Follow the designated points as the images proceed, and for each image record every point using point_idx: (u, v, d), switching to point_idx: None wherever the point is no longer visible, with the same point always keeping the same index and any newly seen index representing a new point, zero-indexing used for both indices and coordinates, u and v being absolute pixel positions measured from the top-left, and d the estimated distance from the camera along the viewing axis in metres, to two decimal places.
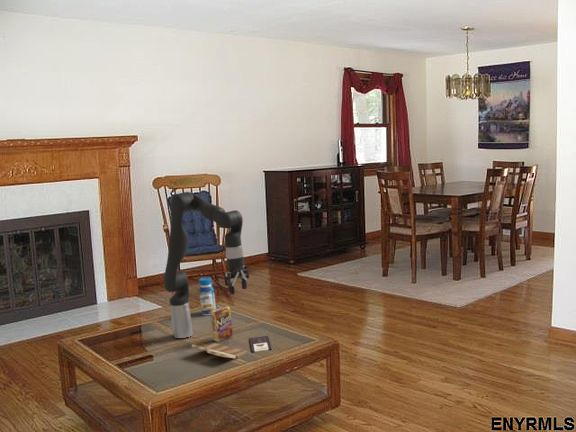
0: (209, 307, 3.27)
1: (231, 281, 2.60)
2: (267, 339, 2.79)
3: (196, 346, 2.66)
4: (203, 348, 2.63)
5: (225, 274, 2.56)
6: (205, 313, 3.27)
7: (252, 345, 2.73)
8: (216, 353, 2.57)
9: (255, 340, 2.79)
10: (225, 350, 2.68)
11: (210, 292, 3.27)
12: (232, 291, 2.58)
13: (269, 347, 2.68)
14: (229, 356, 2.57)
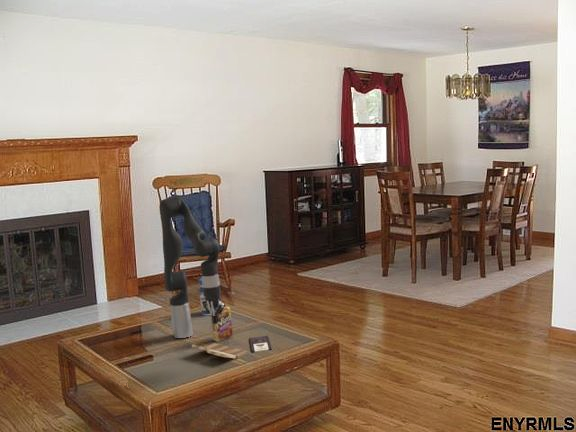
0: None
1: None
2: (267, 339, 2.79)
3: (196, 346, 2.66)
4: (203, 348, 2.63)
5: (221, 307, 2.52)
6: (205, 313, 3.27)
7: (252, 345, 2.73)
8: (216, 353, 2.57)
9: (255, 340, 2.79)
10: (225, 350, 2.68)
11: None
12: None
13: (269, 347, 2.68)
14: (229, 356, 2.57)
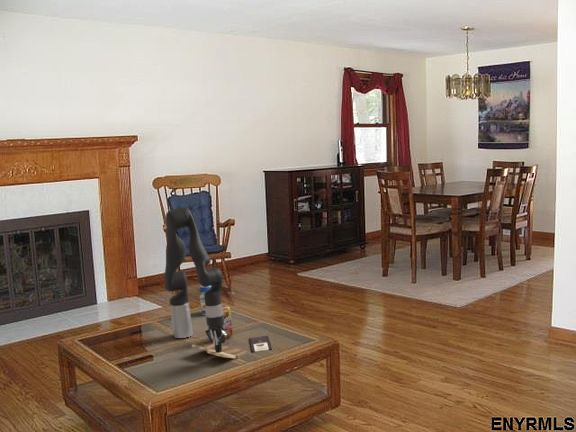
0: None
1: None
2: (267, 339, 2.79)
3: (196, 346, 2.66)
4: (203, 348, 2.63)
5: (225, 336, 2.53)
6: (205, 313, 3.27)
7: (252, 345, 2.73)
8: (216, 353, 2.57)
9: (255, 340, 2.79)
10: (225, 350, 2.68)
11: None
12: None
13: (269, 347, 2.68)
14: (229, 356, 2.57)
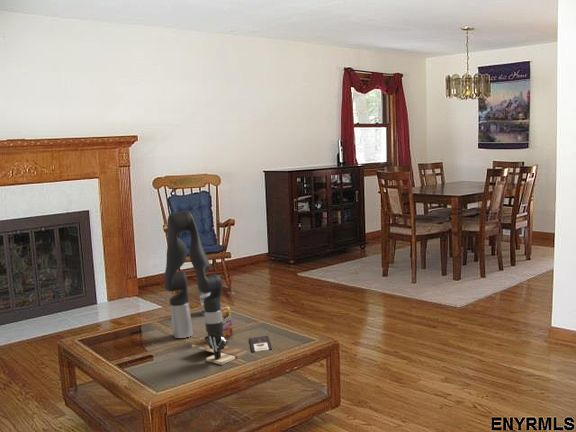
0: None
1: None
2: (267, 339, 2.79)
3: (196, 346, 2.66)
4: (203, 348, 2.63)
5: (224, 343, 2.53)
6: None
7: (252, 345, 2.73)
8: (215, 361, 2.56)
9: (255, 340, 2.79)
10: (225, 350, 2.68)
11: (210, 292, 3.27)
12: None
13: (269, 347, 2.68)
14: (228, 360, 2.57)
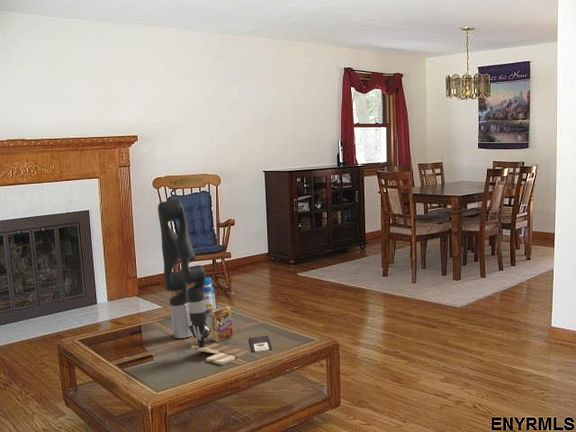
0: (209, 307, 3.27)
1: None
2: (267, 339, 2.79)
3: (196, 347, 2.66)
4: (203, 349, 2.62)
5: (207, 332, 2.60)
6: None
7: (252, 345, 2.73)
8: (215, 361, 2.56)
9: (255, 340, 2.79)
10: (225, 350, 2.68)
11: (210, 292, 3.27)
12: None
13: (269, 347, 2.69)
14: (228, 360, 2.57)
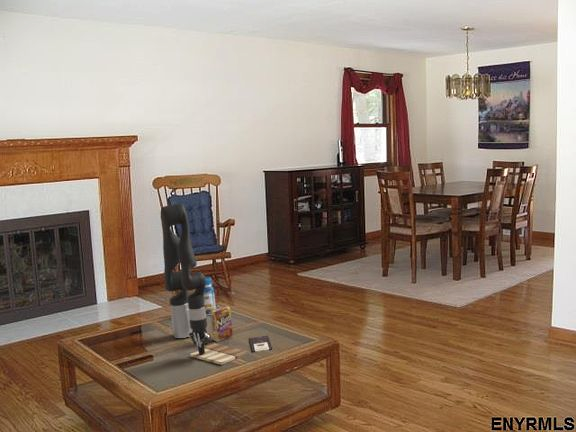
0: (209, 307, 3.27)
1: None
2: (267, 339, 2.79)
3: (194, 356, 2.65)
4: (202, 358, 2.62)
5: (207, 339, 2.60)
6: None
7: (252, 345, 2.73)
8: (215, 361, 2.56)
9: (255, 340, 2.79)
10: (225, 350, 2.68)
11: (210, 292, 3.27)
12: None
13: (269, 347, 2.69)
14: (228, 360, 2.57)
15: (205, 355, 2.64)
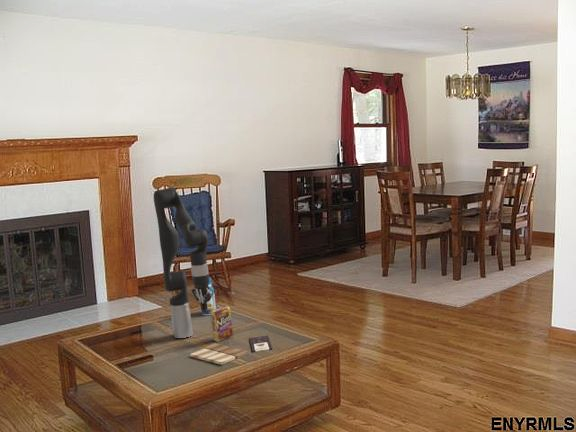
0: (209, 307, 3.27)
1: None
2: (267, 339, 2.79)
3: (194, 356, 2.65)
4: (202, 358, 2.62)
5: (210, 295, 2.63)
6: (205, 313, 3.27)
7: (252, 345, 2.73)
8: (215, 361, 2.56)
9: (255, 340, 2.79)
10: (225, 350, 2.68)
11: None
12: (206, 307, 2.68)
13: (270, 347, 2.69)
14: (228, 360, 2.57)
15: (205, 355, 2.64)
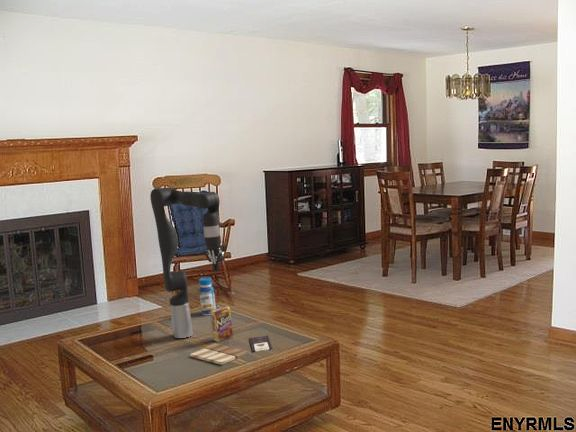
0: (209, 307, 3.27)
1: None
2: (267, 339, 2.79)
3: (194, 356, 2.65)
4: (202, 358, 2.62)
5: (222, 255, 2.72)
6: (205, 313, 3.27)
7: (252, 345, 2.73)
8: (215, 361, 2.56)
9: (255, 340, 2.79)
10: (225, 350, 2.68)
11: (210, 292, 3.27)
12: (218, 267, 2.77)
13: (270, 347, 2.69)
14: (228, 360, 2.57)
15: (205, 355, 2.64)
